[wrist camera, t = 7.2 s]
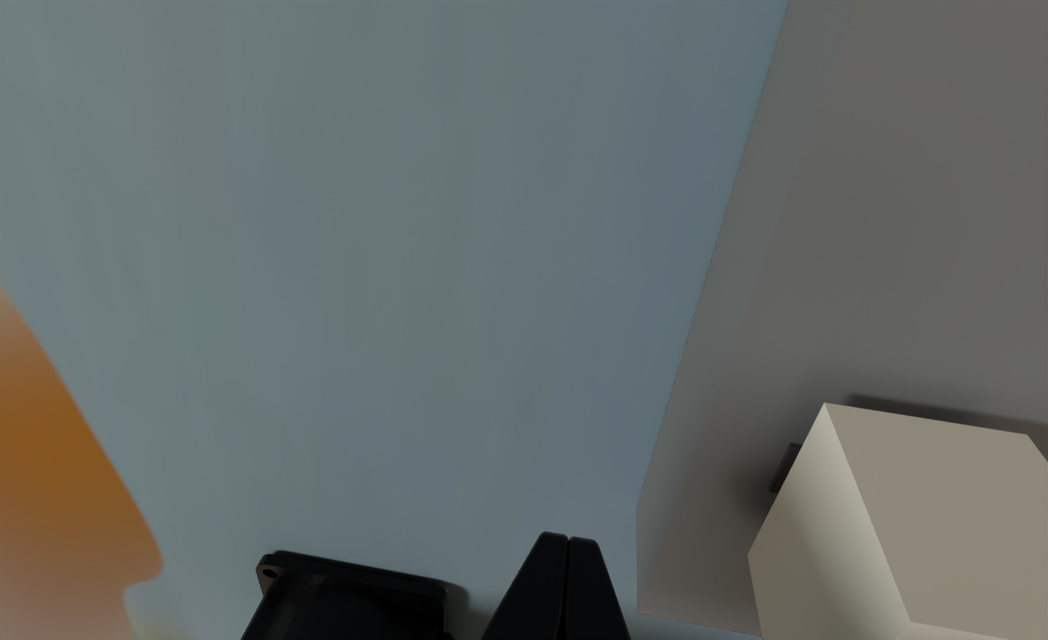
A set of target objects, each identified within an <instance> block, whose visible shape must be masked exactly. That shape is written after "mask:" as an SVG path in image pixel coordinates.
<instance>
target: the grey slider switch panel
mask: <svg viewBox="0 0 1048 640" xmlns="http://www.w3.org/2000/svg"><path fill="white" fill-rule="evenodd" d="M824 403H831V404H837V405H843V406H849V407H856V408H862V409H868V410H875V411H881V412H887V413H894V414H900V415H906V416H912V417H919V418H925V419H931V420H938V421H944V422H950V423H957V424H963V425H969V426H975V427H982V428H988V429H994V430H1001V431H1007V432H1013V433H1020V434H1026V435H1028V437H1029V438H1030V439H1031V441H1032V442H1033V443H1034V445H1035V446H1036V447H1037V449H1038V450H1039V451H1040V452H1041V454H1042V455H1043V456H1044V458H1045V459H1046V460H1047V462H1048V0H790V2H789V5H788V8H787V12H786V15H785V18H784V22H783V25H782V28H781V32H780V35H779V38H778V42H777V45H776V48H775V52H774V55H773V58H772V61H771V65H770V68H769V71H768V75H767V78H766V81H765V85H764V88H763V91H762V95H761V98H760V101H759V105H758V108H757V111H756V114H755V118H754V121H753V124H752V128H751V131H750V134H749V138H748V141H747V144H746V148H745V151H744V154H743V158H742V161H741V164H740V168H739V171H738V174H737V177H736V181H735V184H734V187H733V191H732V194H731V197H730V201H729V204H728V207H727V211H726V214H725V217H724V221H723V224H722V227H721V230H720V234H719V237H718V240H717V244H716V247H715V250H714V254H713V257H712V260H711V264H710V267H709V270H708V274H707V277H706V280H705V284H704V287H703V290H702V293H701V297H700V300H699V303H698V307H697V310H696V313H695V317H694V320H693V323H692V327H691V330H690V333H689V337H688V340H687V343H686V346H685V350H684V353H683V356H682V360H681V363H680V366H679V370H678V373H677V376H676V380H675V383H674V386H673V390H672V393H671V396H670V400H669V403H668V406H667V409H666V413H665V416H664V419H663V423H662V426H661V429H660V433H659V436H658V439H657V443H656V446H655V449H654V453H653V456H652V459H651V462H650V466H649V469H648V472H647V476H646V479H645V482H644V486H643V489H642V492H641V496H640V499H639V502H638V506H637V509H636V519H637V613H639V614H644V615H649V616H655V617H660V618H665V619H671V620H676V621H681V622H687V623H692V624H697V625H702V626H708V627H713V628H718V629H724V630H729V631H734V632H740V633H745V634H750V635H756V636H761V637H762V633H761V628H760V622H759V616H758V611H757V605H756V600H755V594H754V589H753V583H752V578H751V572H750V567H749V561H748V556H747V555H748V553H749V551H750V549H751V547H752V545H753V543H754V541H755V539H756V537H757V535H758V533H759V531H760V529H761V527H762V525H763V523H764V521H765V519H766V517H767V515H768V513H769V511H770V509H771V507H772V505H773V503H774V501H775V499H776V497H777V495H778V493H779V491H780V489H781V487H782V485H783V483H784V481H785V479H786V478H787V476H788V474H789V472H790V470H791V468H792V466H793V464H794V462H795V460H796V458H797V456H798V454H799V452H800V450H801V448H802V446H803V444H804V442H805V440H806V438H807V436H808V434H809V432H810V430H811V428H812V426H813V424H814V422H815V420H816V418H817V416H818V414H819V412H820V410H821V408H822V406H823V404H824Z"/></svg>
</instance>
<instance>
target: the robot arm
mask: <svg viewBox="0 0 1048 640" xmlns="http://www.w3.org/2000/svg"><path fill="white" fill-rule="evenodd" d="M256 573H257V576H258V580H259V583H260V586H261V590H262V593H263V596H264V597H263V599H262V601H261V603H260V604H259V606H258V608H257V610H256V612H255V614H254V616H253V617H252V619H251V621H250V623H249V625H248V627H247V629H246V631H245V632H244V634H243V636H242V638H241V640H455V639H454V638H453V636H452V634H451V633H447V632H446V619H447V594H446V592H445V591H444V590H443V589H442V588H440V587H439V586H436V585H433V584H427V583H422V582H417V581H411V580H406V579H401V578H396V577H390V576H385V575H380V574H374V573H369V572H364V571H359V570H353V569H348V568H343V567H337V566H332V565H327V564H322V563H316V562H311V561H306V560H300V559H295V558H290V557H285V556H279V555H274V554H266V555H264V556H263V557H262V558H261V560H260V562H259V563H258V565H257V567H256ZM479 640H631V637H630V635H629V632H628V629H627V626H626V623H625V620H624V617H623V614H622V611H621V608H620V606H619V603H618V600H617V597H616V594H615V591H614V588H613V585H612V582H611V580H610V577H609V574H608V571H607V568H606V565H605V562H604V559H603V556H602V554H601V551H600V548H599V546H598V544H597V542H596V541H594V540H592V539H586V538H580V537H571V538H570V539H568V537H567V536H566V535H564V534H558V533H552V532H547V531H545V532H543V533H541V534H540V536H539V537H538V539H537V541H536V543H535V544H534V546H533V548H532V549H531V551H530V553H529V555H528V556H527V558H526V560H525V561H524V563H523V565H522V567H521V568H520V570H519V572H518V573H517V575H516V577H515V579H514V580H513V582H512V584H511V586H510V587H509V589H508V591H507V592H506V594H505V596H504V598H503V599H502V601H501V603H500V604H499V606H498V608H497V610H496V611H495V613H494V615H493V616H492V618H491V620H490V622H489V623H488V625H487V627H486V629H485V630H484V632H483V634H482V635H481V637H480V639H479Z"/></svg>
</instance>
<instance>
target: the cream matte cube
mask: <svg viewBox="0 0 1048 640" xmlns="http://www.w3.org/2000/svg"><path fill="white" fill-rule="evenodd" d="M747 556H748V561H749V567H750V572H751V578H752V583H753V589H754V594H755V600H756V605H757V611H758V616H759V622H760V628H761V633H762V639H763V640H1048V462H1047V460H1046V459H1045V458H1044V456H1043V455H1042V454H1041V452H1040V451H1039V450H1038V449H1037V447H1036V446H1035V445H1034V443H1033V442H1032V441H1031V439H1030V438H1029V437H1028V435H1026V434H1020V433H1013V432H1007V431H1001V430H994V429H988V428H982V427H975V426H969V425H963V424H957V423H950V422H944V421H938V420H931V419H925V418H919V417H912V416H906V415H900V414H894V413H887V412H881V411H875V410H868V409H862V408H856V407H849V406H843V405H837V404H831V403H824V404H823V406H822V408H821V410H820V412H819V414H818V416H817V418H816V420H815V422H814V424H813V426H812V428H811V430H810V432H809V434H808V436H807V438H806V440H805V442H804V444H803V446H802V448H801V450H800V452H799V454H798V456H797V458H796V460H795V462H794V464H793V466H792V468H791V470H790V472H789V474H788V476H787V478H786V479H785V481H784V483H783V485H782V487H781V489H780V491H779V493H778V495H777V497H776V499H775V501H774V503H773V505H772V507H771V509H770V511H769V513H768V515H767V517H766V519H765V521H764V523H763V525H762V527H761V529H760V531H759V533H758V535H757V537H756V539H755V541H754V543H753V545H752V547H751V549H750V551H749V553H748V555H747Z"/></svg>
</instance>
